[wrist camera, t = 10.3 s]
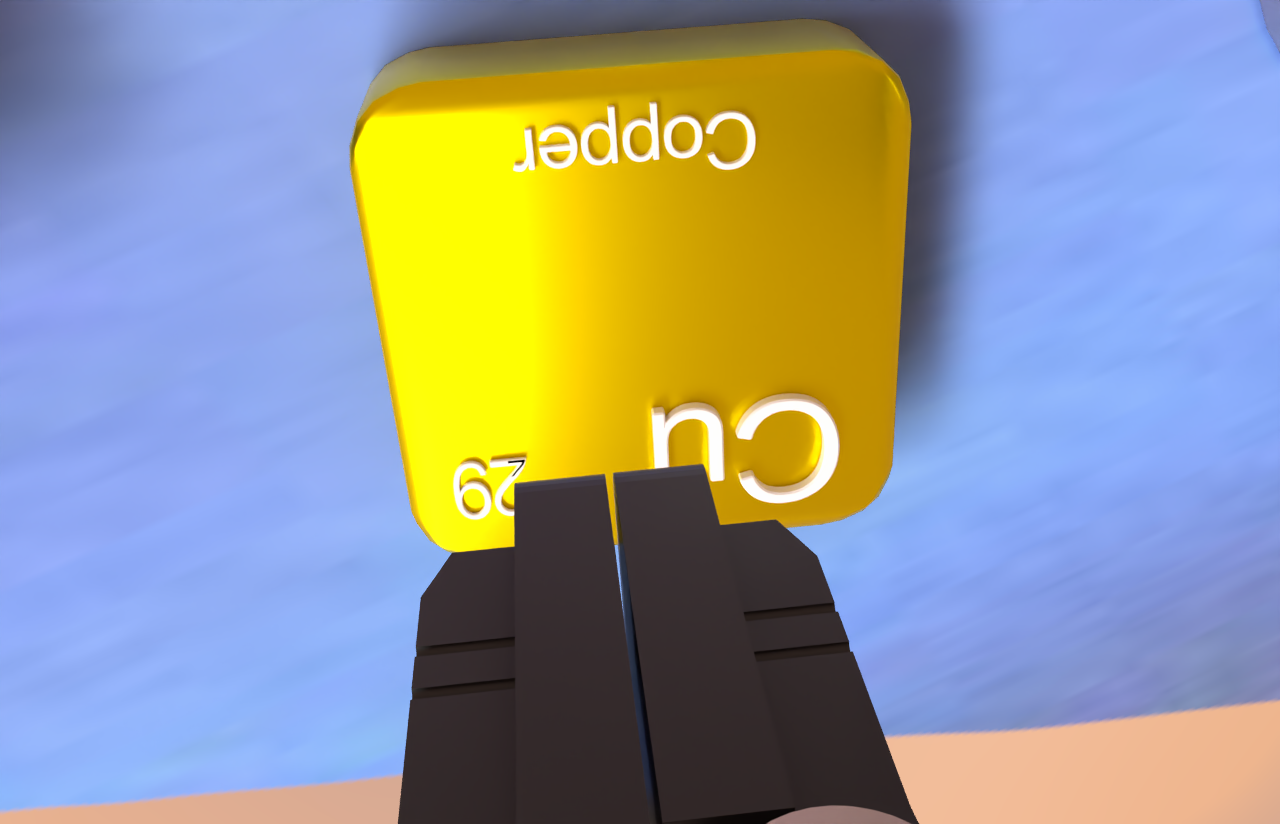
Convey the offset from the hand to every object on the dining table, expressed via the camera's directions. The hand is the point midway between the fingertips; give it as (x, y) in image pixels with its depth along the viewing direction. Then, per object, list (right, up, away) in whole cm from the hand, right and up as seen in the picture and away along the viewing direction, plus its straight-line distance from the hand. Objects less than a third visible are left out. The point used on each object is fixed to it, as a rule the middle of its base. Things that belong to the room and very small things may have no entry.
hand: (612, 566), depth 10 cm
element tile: (0, +6, +29) cm, 29 cm away
